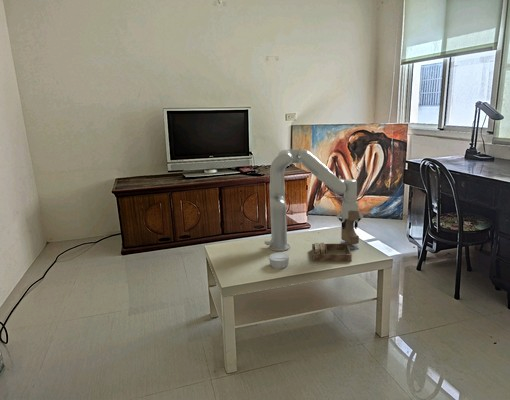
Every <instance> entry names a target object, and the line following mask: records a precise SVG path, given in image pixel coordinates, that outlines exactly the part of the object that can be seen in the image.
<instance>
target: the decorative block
mask: <svg viewBox="0 0 510 400" xmlns="http://www.w3.org/2000/svg"><path fill="white" fill-rule="evenodd" d="M359 213H360V211H359V212H358V211H354V212H353V211H352V212H348V219H345V220H344V229H343V227H342V226H341V238H340V239H341V241H345V242H347V243H349V244H351V245H353V244H357V245H358V244H359V241H360V238H359V235H358V234H357V233H356V231H355V230H356V229H355V221H356V220H359V217H360V215H359Z"/></svg>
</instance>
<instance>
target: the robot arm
mask: <svg viewBox="0 0 510 400" xmlns="http://www.w3.org/2000/svg"><path fill="white" fill-rule="evenodd" d="M291 164H301V165H302V166H303V167H304V168H305V169H306V170H307V171H309V172H310V173H311V175H313V176H314V177H315V178H316V179H318V180H319V181H320V182H321V183H323V184H324V185H326V186H327V187H328V188H329V189H330V190H331V192H333V193H335V194H336V195H343V197H342V198H341V199H340V200H341V201H342V204H341V209H340V212H339V213H338V214H337V215H335V217H336V218H337V220H339V221H340V222H341V228H342V227H343V229H344V220H345V219H348V212H352V211H353V212H354V211H358V212H359V220H355V221H354V230H357V228H358V226H359V225H358V224H359V223H360V221H361V220H362V219H363V218H364V215H363V214H362V213H361V212H360V210H359V209H360V208H359V202H358V201H357V200H358V199H357V197H358V194H357V193H358V192H357V191H358V181H357V180H356V179H353V178H348V179H341V178H338V176H336V174H334V173H333V172H332V171H331V170H330V169H329V167H328V166H326V165H325V164H324V163H323V162H322V161H321V160H320V159H318V158H317V157H316V156H315V155H314V154H313V153H312V152H310V150H308V149H305V148H298V149H283V150H280V151H279V153H278V154H277V156H276V157H275V158H274V159H273V160H272V161H271V164H270V167H269V169H270V170H269V186H268V187H269V189H268V190H269V207H270V208H269V209H270V210H269V211H270V228H271V229H270V231H271V235H270V237H271V240H264V245H266V246H268V248H269V250H271V251H273V252H284V251H288V250H289V249H290V246H291V245H290V244H288V232H287V231H288V230H287V229H288V227H287V226H288V223H287V211H288V209H287V203H286V196H285V195H286V192H285V191H286V184H285V170H286V168H287V167H288V166H291Z"/></svg>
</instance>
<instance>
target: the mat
mask: <svg viewBox="0 0 510 400" xmlns="http://www.w3.org/2000/svg"><path fill="white" fill-rule="evenodd" d="M340 244H348V246H349V249H350V250H359V246H358V244H353V245H351V244H349V243H347V242H345V241H344V240H340Z"/></svg>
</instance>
